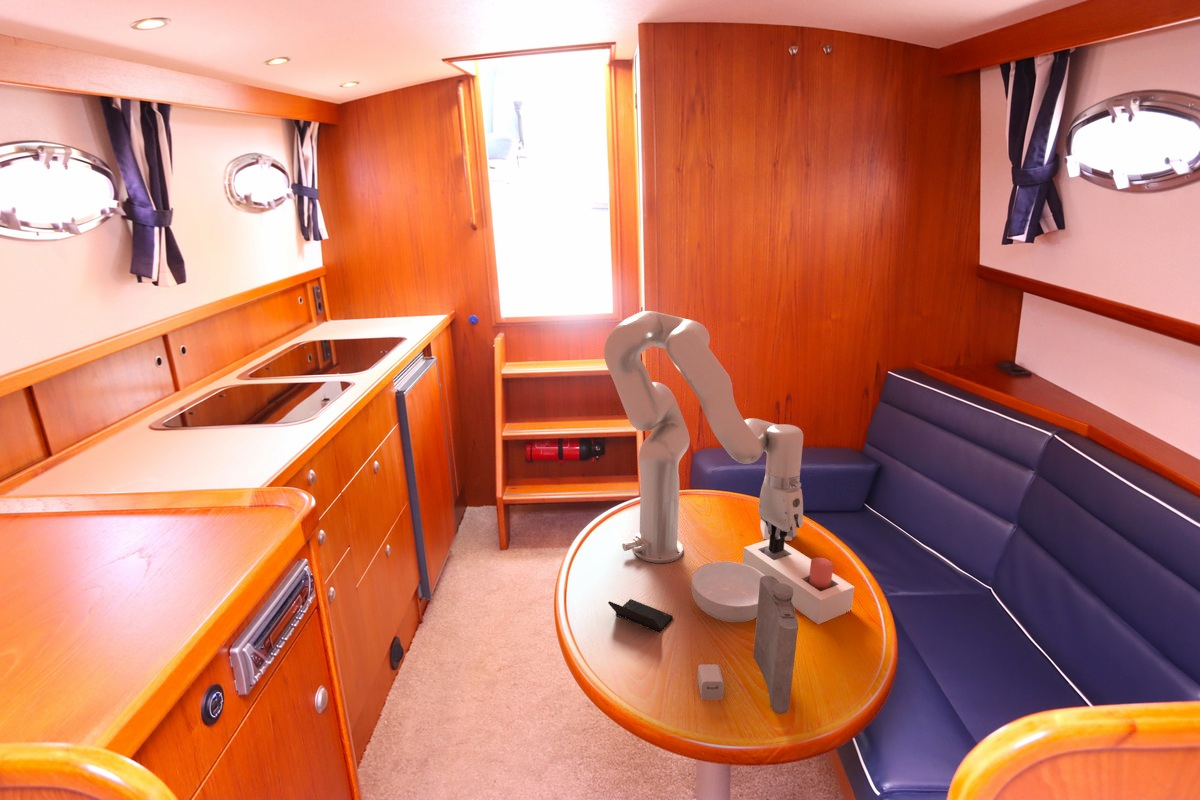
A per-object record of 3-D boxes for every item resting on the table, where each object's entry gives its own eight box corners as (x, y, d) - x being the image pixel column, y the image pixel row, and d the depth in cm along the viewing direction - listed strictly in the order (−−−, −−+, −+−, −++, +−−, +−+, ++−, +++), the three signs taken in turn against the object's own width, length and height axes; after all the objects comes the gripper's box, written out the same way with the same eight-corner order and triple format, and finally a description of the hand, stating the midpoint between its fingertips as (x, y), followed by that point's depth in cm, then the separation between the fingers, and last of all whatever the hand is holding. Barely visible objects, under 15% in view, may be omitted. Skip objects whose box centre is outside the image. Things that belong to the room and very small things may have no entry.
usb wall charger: (700, 699, 118) (701, 681, 117) (695, 672, 125) (696, 654, 123) (722, 699, 118) (724, 681, 117) (716, 672, 125) (717, 654, 123)
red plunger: (819, 593, 140) (822, 571, 138) (803, 583, 144) (806, 561, 142) (835, 587, 142) (838, 565, 141) (819, 577, 146) (821, 555, 144)
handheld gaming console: (676, 607, 142) (662, 589, 134) (669, 640, 138) (654, 624, 130) (627, 599, 147) (611, 582, 139) (619, 632, 143) (602, 615, 136)
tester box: (817, 624, 138) (820, 600, 136) (742, 569, 158) (743, 547, 156) (851, 610, 143) (854, 586, 141) (773, 558, 163) (775, 537, 161)
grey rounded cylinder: (772, 578, 153) (774, 557, 151) (758, 568, 157) (760, 548, 155) (787, 572, 155) (789, 552, 153) (773, 563, 159) (775, 543, 157)
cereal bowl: (682, 624, 138) (683, 595, 136) (698, 581, 153) (699, 555, 151) (764, 642, 133) (767, 612, 131) (773, 596, 148) (775, 569, 146)
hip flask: (751, 652, 130) (759, 563, 124) (772, 652, 130) (780, 563, 124) (773, 713, 115) (783, 616, 109) (796, 713, 115) (807, 616, 109)
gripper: (819, 487, 144) (811, 561, 150) (771, 464, 157) (766, 533, 162) (793, 495, 141) (787, 570, 146) (747, 470, 153) (742, 540, 159)
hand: (776, 550), depth 154 cm, fingers closed
